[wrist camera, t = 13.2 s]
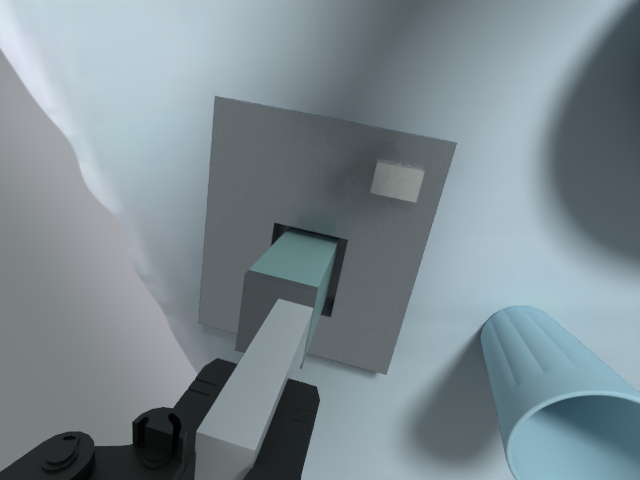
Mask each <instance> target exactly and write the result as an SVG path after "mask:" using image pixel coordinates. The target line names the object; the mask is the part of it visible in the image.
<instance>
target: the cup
mask: <svg viewBox="0 0 640 480" xmlns="http://www.w3.org/2000/svg"><path fill="white" fill-rule="evenodd" d="M480 340H481V345H482V350H483V354H484V359H485V363H486V367H487V372H488V376H489V381H490V385H491V389H492V394H493V398H494V403H495V407H496V411H497V416H498V420H499V427H500V433H501V437H502V442H503V446H504V451H505V455H506V460H507V463H508V466H509V469H510V471H511V473H512V475H513V476H514V478H515V479H516V480H640V392H639V391H638V390H637V389H636V388H635V387H634V386H632V385H631V384H630V383H628V382H627V381H626V380H625V379H624V378H622V377H621V376H620V375H619V374H618V373H617V372H615V371H614V370H613V369H612V368H611V367H609V366H608V365H607V364H606V363H605V362H604V361H602V360H601V359H600V358H599V357H598V356H597V355H595V354H594V353H593V352H592V351H591V350H589V349H588V348H587V347H586V346H585V345H584V344H582V343H581V342H580V341H579V340H578V339H577V338H575V337H574V336H573V335H572V334H571V333H569V332H568V331H567V330H566V329H565V328H564V327H562V326H561V325H560V324H559V323H558V322H556V321H555V320H554V319H553V318H552V317H550V316H549V315H548V314H547V313H545V312H543V311H541V310H538V309H535V308H533V307H528V306H515V307H509V308H506V309H504V310H501V311H499V312H497V313H495V314H494V315H493V316H492V317H491V318H490V319H489V320H488V321H487V322H486V323H485V325H484V327H483V329H482V333H481V337H480Z"/></svg>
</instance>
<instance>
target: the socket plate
mask: <svg viewBox="0 0 640 480" xmlns="http://www.w3.org/2000/svg"><path fill="white" fill-rule="evenodd" d="M456 144H457V143H455V142H451V141H446V140H440V139H435V138H430V137H425V136H420V135H415V134H410V133H404V132H399V131H394V130H389V129H384V128H379V127H374V126H368V125H363V124H358V123H353V122H348V121H343V120H338V119H332V118H327V117H322V116H317V115H312V114H307V113H302V112H296V111H291V110H286V109H281V108H276V107H271V106H266V105H260V104H255V103H250V102H245V101H240V100H235V99H230V98H224V97H218V96H215V103H214V117H213V131H212V144H211V158H210V172H209V185H208V199H207V213H206V226H205V240H204V254H203V267H202V281H201V295H200V308H199V322H198V323H199V324H203V325H207V326H210V327H214V328H217V329H221V330H225V331H228V332H232V333H236V334H237V333H238V325H239V316H240V308H241V300H242V291H243V283H244V274H245V273H246V272H247V271H248V270H249V269H250V268H251V267H252V266H253V265H254V264H255V263H256V262H257V261H258V260H259V259H260V258H261V256H262V255H263V254H264V253H265V252H266V251H267V250H268V249H269V248H270V247H271V246H272V245H273V244H274V243H275V242H276V241H277V240H278V239H279V238H280V237H281V236H282V235H283V234H284V233H285V232H286V230H287V229H288V228H290V229H295V230H299V231H303V232H308V233H312V234H316V235H320V236H325V237H329V238H333V239H337V240H339V242H338V247H337V251H336V256H335V261H334V265H333V270H332V275H331V280H330V284H329V289H328V294H327V298H326V301H325V303H324V306H323V309H322V312H321V315H320V317H319V320H318V323H317V326H316V329H315V331H314V334H313V337H312V340H311V343H310V345H309V348H308V351H307V353H309V354H312V355H316V356H319V357H323V358H327V359H330V360H334V361H338V362H341V363H345V364H349V365H352V366H356V367H360V368H363V369H367V370H371V371H374V372H378V373H381V374H385V375H386V374H387V371H388V368H389V364H390V361H391V358H392V355H393V351H394V348H395V345H396V341H397V338H398V335H399V332H400V328H401V325H402V322H403V319H404V315H405V312H406V309H407V305H408V302H409V299H410V296H411V292H412V289H413V286H414V282H415V279H416V276H417V273H418V269H419V266H420V263H421V259H422V256H423V253H424V250H425V246H426V243H427V240H428V236H429V233H430V230H431V227H432V223H433V220H434V217H435V213H436V210H437V207H438V204H439V200H440V197H441V194H442V190H443V187H444V184H445V181H446V177H447V174H448V171H449V167H450V164H451V161H452V158H453V154H454V151H455V148H456Z"/></svg>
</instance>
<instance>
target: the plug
mask: <svg viewBox="0 0 640 480" xmlns="http://www.w3.org/2000/svg"><path fill="white" fill-rule="evenodd" d="M338 242H339V240H337V239H333V238H329V237H325V236H320V235H316V234H312V233H308V232H303V231H299V230H295V229H290V228H288V229H287V230H286V232H285V233H284V234H283V235H282V236H281V237H280V238H279V239H278V240H277V241H276V242H275V243H274V244H273V245H272V246H271V247H270V248H269V249H268V250H267V251H266V252H265V253H264V254H263V255H262V256H261V258H260V259H259V260H258V261H257V262H256V263H255V264H254V265H253V266H252V267H251V268H250V269H249V270H248V271H247V272H246V273H245V274H244V283H243V291H242V300H241V308H240V316H239V325H238V333H237V342H236V351H240V352H243V353H245V352H246V350H247V349H248V347H249V346H250V344H251V342H252V341H253V339H254V337H255V336H256V334H257V333H258V331H259V329H260V328H261V326H262V324H263V323H264V321H265V320H266V318H267V316H268V315H269V313H270V312H271V310H272V308H273V307H274V305H275V303H276V302H277V300H278V299H282V300H286V301H289V302H293V303H297V304H300V305H304V306H308V307H311V308H313V313H312V318H311V322H310V327H309V332H308V337H307V342H306V346H305V351H304V356H303V361H302V364H301V366H300V369H301V368H302V365H303V362H304V359H305V357H306V354H307V351H308V348H309V345H310V343H311V340H312V337H313V334H314V331H315V329H316V326H317V323H318V320H319V317H320V315H321V312H322V309H323V306H324V303H325V301H326V298H327V294H328V289H329V284H330V280H331V275H332V270H333V265H334V261H335V256H336V251H337V247H338Z"/></svg>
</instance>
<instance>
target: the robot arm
mask: <svg viewBox="0 0 640 480" xmlns="http://www.w3.org/2000/svg"><path fill="white" fill-rule="evenodd" d="M312 313H313V308H311V307H308V306H304V305H300V304H297V303H293V302H289V301H286V300H282V299H278V300H277V302H276V303H275V305H274V307H273V308H272V310H271V312H270V313H269V315H268V316H267V318H266V320H265V321H264V323H263V324H262V326H261V328H260V329H259V331H258V333H257V334H256V336H255V337H254V339H253V341H252V342H251V344H250V346H249V347H248V349H247V350H246V352H245V354H244V355H243V357H242V358H241V360H240V362H239V363H238V364H235V363H232V362H229V361H225V360H222V359H218V358H217V359H215V360H214V361H212V362H211V363H209V364H207V365H206V366H204V367H203V369H202V370H201V371H200V373H199V374H198V375H197V377H196V378H195V381H193V382H192V384H191V385H190V386H189V388H188V390H187V391H186V392H185V393H184V394H183V396H182V397H181V398H180V400H179V401H178V402H177V404H176V405H175V406H174V408H165V407H162V408H156V409H151V410H149V411H147V412H145V413H143V414H141V415H140V416H139V417H138V418H136V419H135V420H134V421H133V422H132V423H133V424H132V426H133V444H131V445H125V446H94V441H93V440H92V438H91V437H90V436H89V435H88V434H85V433H83V432H66V433H62V434H58V435H55V436H53V437H52V438H50V439H48V440H46V441H44V442H43V443H41V444H40V445H38V446H37V447H35V448H34V449H33V450H31V451H30V452H28V453H27V454H25V455H24V456H23V457H21V458H20V459H18V460H17V461H15V462H14V463H13V464H11V465H10V466H8V467H7V468H5V469H4V470H2V471H1V472H0V480H301V474H302V470H303V466H304V463H305V459H306V455H307V451H308V447H309V443H310V439H311V435H312V431H313V427H314V423H315V419H316V414H317V410H318V406H319V402H320V398H319V394H318V389H317V387H316V386H313V385H309V384H306V383H303V382H299V381H296V377H297V375H298V372H299V369H300V366H301V364H302V361H303V356H304V351H305V346H306V342H307V337H308V332H309V327H310V322H311V318H312Z"/></svg>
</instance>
